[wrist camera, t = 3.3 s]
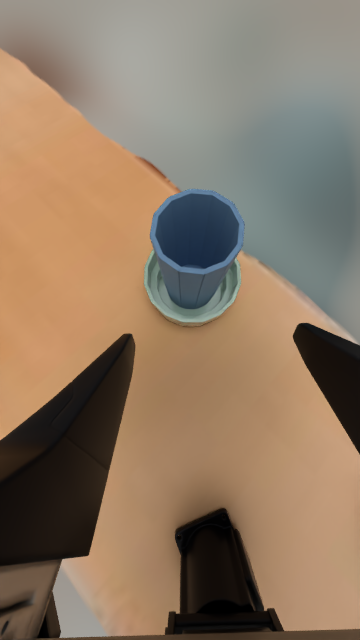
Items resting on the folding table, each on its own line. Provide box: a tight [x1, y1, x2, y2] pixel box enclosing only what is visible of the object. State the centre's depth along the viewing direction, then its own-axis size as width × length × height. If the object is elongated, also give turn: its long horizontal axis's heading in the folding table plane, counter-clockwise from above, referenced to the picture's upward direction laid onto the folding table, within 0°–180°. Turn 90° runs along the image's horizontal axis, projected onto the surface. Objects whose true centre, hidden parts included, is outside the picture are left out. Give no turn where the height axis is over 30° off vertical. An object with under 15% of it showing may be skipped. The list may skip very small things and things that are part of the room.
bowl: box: [144, 249, 241, 326], centre depth 21 cm, size 11×11×4 cm
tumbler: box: [150, 189, 245, 309], centre depth 17 cm, size 7×7×12 cm
